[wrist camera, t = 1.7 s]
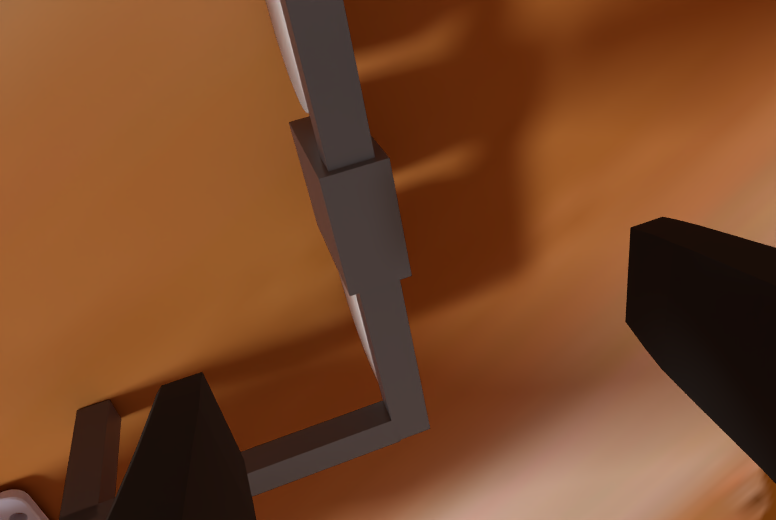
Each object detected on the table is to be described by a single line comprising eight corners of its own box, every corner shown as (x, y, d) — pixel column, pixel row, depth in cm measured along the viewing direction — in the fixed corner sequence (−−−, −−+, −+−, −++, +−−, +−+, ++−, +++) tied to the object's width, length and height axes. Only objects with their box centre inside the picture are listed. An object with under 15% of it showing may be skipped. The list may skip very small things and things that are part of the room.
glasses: (279, -149, 14) (328, -162, 10) (388, 326, 21) (441, 432, 17) (-225, -43, 12) (-424, -5, 8) (89, 429, 20) (70, 571, 16)
